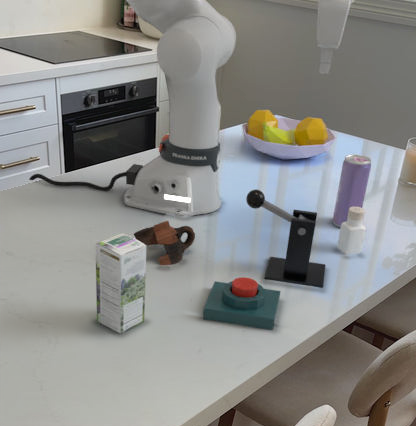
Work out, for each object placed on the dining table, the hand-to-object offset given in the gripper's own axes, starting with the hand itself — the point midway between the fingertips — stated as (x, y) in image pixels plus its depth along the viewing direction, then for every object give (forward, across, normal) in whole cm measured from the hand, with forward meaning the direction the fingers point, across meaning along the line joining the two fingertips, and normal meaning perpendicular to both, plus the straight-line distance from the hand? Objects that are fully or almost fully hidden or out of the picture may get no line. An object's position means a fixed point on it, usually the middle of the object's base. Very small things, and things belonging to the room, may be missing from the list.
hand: (324, 67), depth 118 cm
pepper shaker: (+36, -2, +10) cm, 37 cm away
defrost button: (+32, +28, -8) cm, 43 cm away
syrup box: (+36, +37, -27) cm, 58 cm away
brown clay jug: (+36, +11, -26) cm, 45 cm away
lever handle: (+25, +12, -5) cm, 28 cm away
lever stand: (+35, +12, 0) cm, 37 cm away
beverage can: (+36, -17, +10) cm, 41 cm away
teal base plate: (+35, +28, -8) cm, 46 cm away
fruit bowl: (+35, -64, -8) cm, 73 cm away
